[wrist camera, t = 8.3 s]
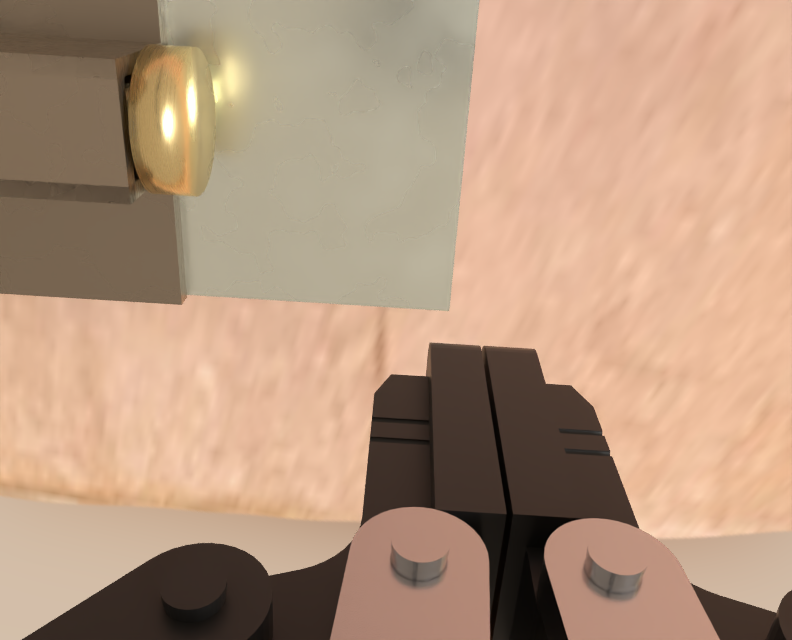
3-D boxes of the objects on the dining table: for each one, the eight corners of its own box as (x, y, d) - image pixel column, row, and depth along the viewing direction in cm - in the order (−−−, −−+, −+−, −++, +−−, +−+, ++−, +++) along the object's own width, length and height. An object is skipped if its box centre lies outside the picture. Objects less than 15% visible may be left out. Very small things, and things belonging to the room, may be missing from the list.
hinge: (-222, -163, 26) (-416, -198, 20) (487, -120, 26) (508, -140, 20) (-109, 263, 33) (-226, 333, 27) (447, 298, 33) (454, 375, 27)
